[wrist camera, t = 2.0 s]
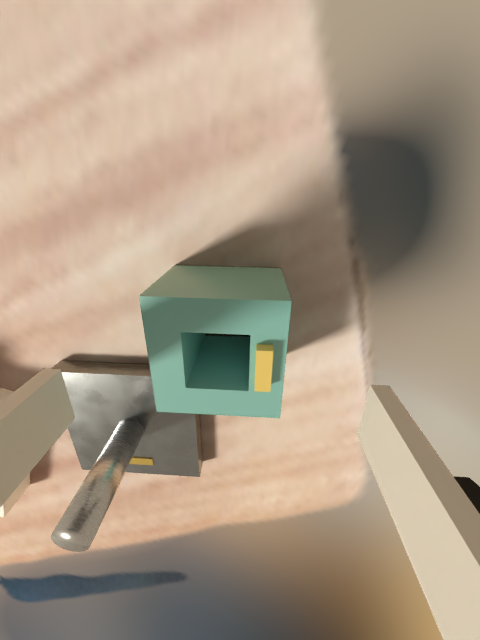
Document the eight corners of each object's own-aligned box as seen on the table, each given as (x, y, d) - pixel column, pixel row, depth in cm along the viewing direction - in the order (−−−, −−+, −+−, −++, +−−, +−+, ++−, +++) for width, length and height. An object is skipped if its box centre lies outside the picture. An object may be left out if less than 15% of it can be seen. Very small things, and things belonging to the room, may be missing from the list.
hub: (174, 265, 18) (133, 300, 12) (281, 268, 18) (293, 306, 12) (182, 355, 21) (153, 419, 15) (273, 358, 20) (280, 426, 15)
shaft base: (61, 360, 22) (-68, 469, 13) (196, 366, 21) (155, 483, 13) (91, 455, 26) (10, 581, 18) (202, 461, 26) (175, 595, 17)
